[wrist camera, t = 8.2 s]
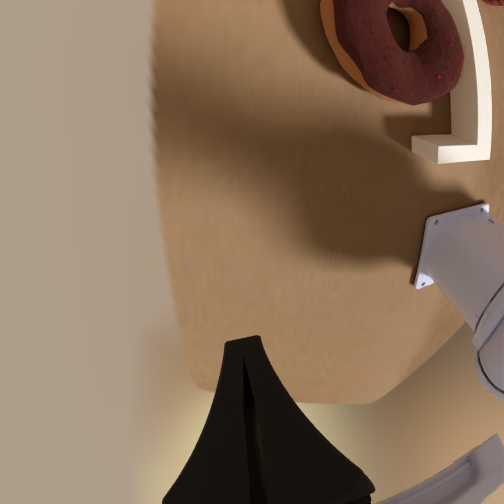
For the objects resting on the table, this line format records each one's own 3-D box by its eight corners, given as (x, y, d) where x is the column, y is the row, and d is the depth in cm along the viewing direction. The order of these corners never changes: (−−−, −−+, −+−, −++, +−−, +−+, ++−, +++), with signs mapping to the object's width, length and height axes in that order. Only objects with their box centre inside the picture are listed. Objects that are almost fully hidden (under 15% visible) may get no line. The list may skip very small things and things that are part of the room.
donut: (321, -47, 8) (346, -70, 5) (437, 8, 10) (473, 5, 7) (304, 79, 14) (330, 77, 10) (426, 118, 15) (463, 130, 12)
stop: (440, -29, 7) (464, -34, 5) (464, 147, 17) (489, 159, 14) (376, -51, 7) (399, -63, 5) (411, 151, 17) (437, 164, 14)
